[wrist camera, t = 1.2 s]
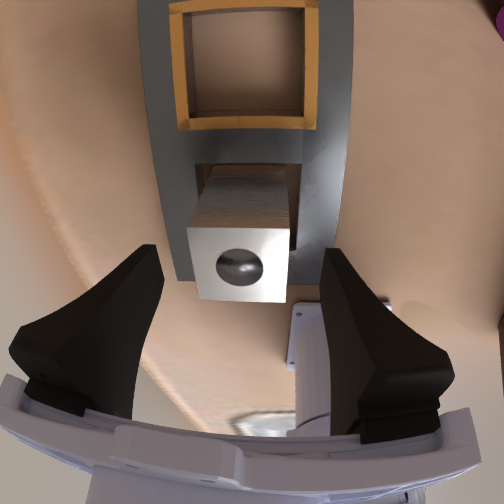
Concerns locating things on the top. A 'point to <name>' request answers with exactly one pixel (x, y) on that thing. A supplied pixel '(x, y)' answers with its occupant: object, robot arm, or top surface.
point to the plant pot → (502, 347)
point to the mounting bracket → (500, 22)
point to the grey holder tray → (250, 122)
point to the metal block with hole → (241, 235)
